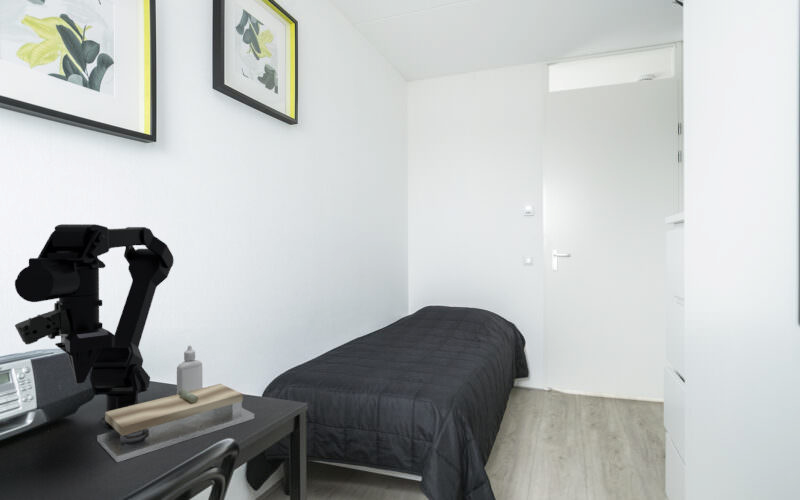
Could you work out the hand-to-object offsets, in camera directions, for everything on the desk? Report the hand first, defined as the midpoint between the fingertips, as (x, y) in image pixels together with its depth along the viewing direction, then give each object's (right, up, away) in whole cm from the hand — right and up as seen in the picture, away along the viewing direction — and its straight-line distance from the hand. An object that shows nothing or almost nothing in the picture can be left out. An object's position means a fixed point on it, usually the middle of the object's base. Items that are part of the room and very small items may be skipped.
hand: (80, 382), depth 77 cm
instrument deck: (+13, -8, +8) cm, 17 cm away
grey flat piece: (+13, -12, +8) cm, 20 cm away
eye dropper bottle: (+6, -12, +29) cm, 32 cm away
